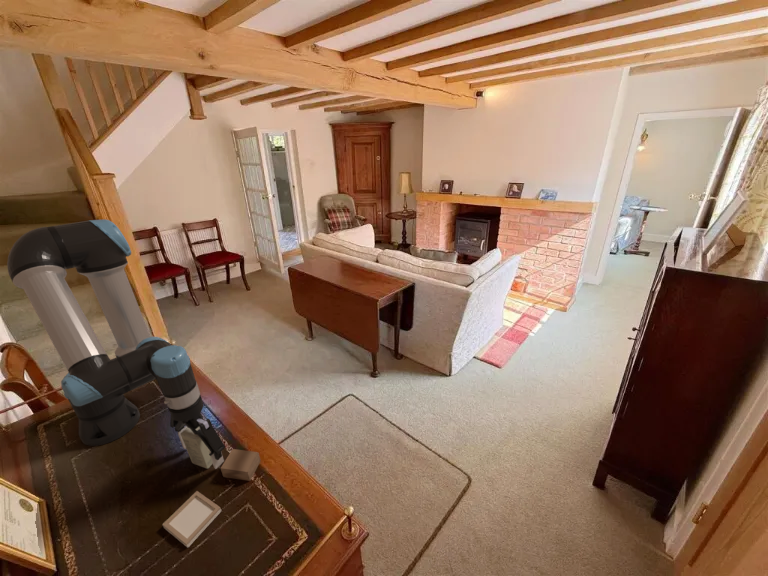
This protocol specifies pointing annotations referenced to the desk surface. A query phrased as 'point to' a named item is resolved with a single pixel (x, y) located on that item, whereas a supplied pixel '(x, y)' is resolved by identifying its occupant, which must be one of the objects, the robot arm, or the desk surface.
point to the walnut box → (240, 464)
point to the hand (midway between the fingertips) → (203, 454)
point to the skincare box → (196, 448)
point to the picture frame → (192, 518)
